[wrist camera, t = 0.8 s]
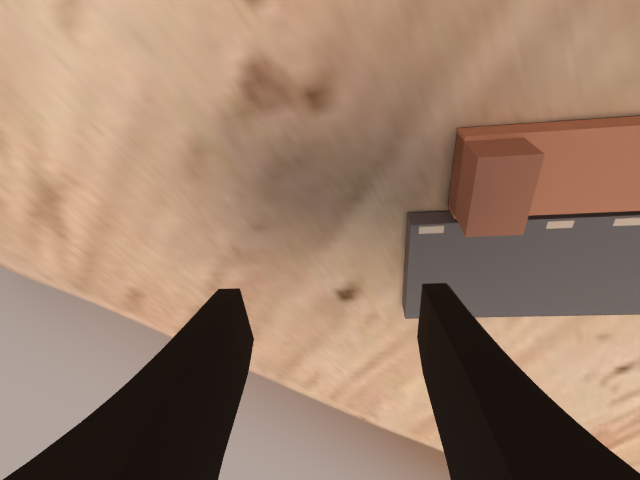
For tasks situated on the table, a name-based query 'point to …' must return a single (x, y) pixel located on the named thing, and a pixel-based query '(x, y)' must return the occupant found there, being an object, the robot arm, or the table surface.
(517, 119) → the table surface
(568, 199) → the stub
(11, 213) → the table surface
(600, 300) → the board
